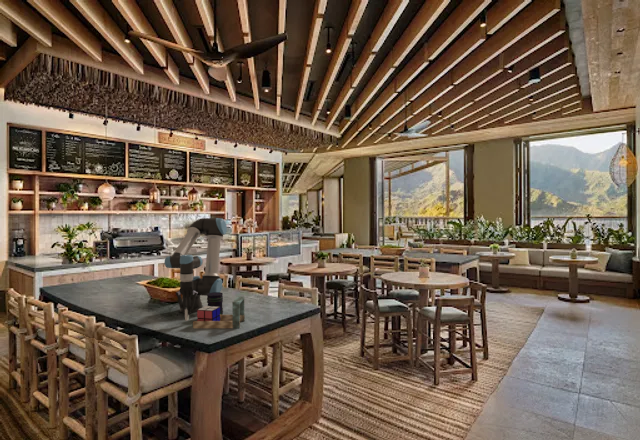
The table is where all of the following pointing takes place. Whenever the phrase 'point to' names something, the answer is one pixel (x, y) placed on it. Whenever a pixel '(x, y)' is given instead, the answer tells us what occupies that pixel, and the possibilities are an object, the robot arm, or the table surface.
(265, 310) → the table surface
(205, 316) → the puzzle cube
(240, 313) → the channel
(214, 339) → the table surface
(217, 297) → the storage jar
